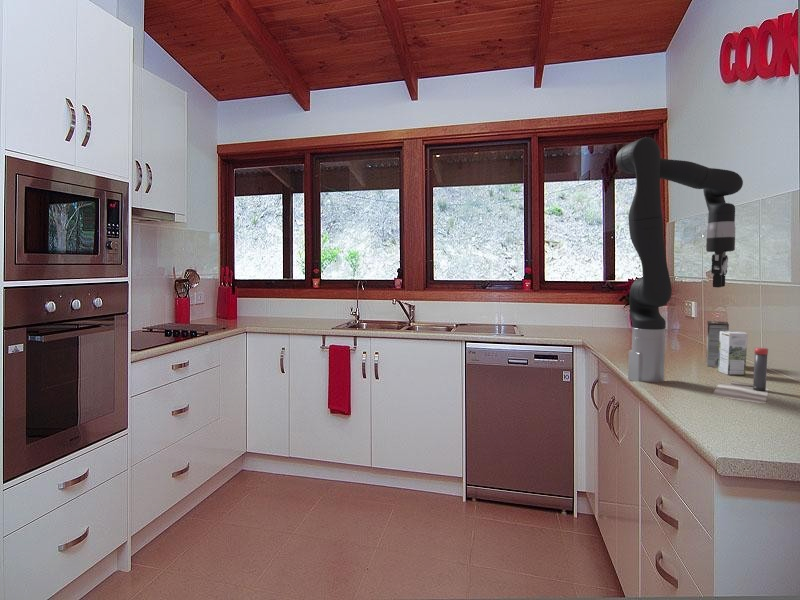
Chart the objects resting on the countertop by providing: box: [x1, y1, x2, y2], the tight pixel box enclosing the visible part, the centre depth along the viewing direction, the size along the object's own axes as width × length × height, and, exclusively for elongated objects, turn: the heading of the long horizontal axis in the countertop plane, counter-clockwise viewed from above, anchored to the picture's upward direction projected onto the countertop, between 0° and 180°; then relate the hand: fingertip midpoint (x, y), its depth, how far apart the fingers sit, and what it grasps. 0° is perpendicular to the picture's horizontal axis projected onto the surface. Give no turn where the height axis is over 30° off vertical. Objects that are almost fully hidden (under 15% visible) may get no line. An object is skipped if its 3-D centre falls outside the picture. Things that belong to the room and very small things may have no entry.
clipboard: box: [711, 381, 770, 404], centre depth 127 cm, size 22×14×2 cm, turn 139°
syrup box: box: [717, 330, 749, 376], centre depth 154 cm, size 6×6×14 cm
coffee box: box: [705, 320, 730, 368], centre depth 168 cm, size 9×6×16 cm
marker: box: [752, 347, 769, 391], centre depth 129 cm, size 3×3×12 cm
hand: (718, 287), depth 146 cm, fingers open, 8 cm apart
